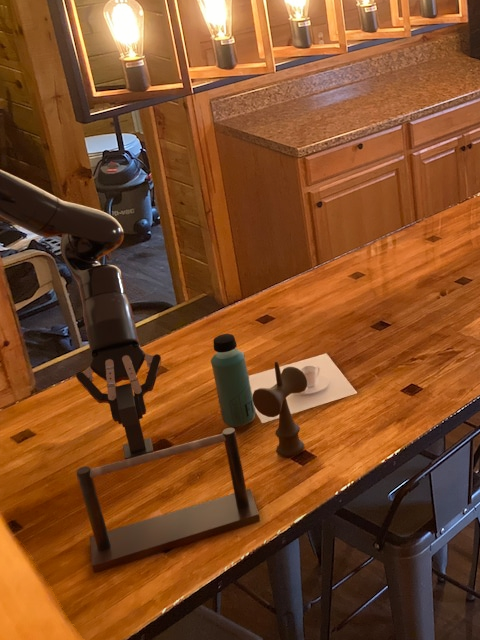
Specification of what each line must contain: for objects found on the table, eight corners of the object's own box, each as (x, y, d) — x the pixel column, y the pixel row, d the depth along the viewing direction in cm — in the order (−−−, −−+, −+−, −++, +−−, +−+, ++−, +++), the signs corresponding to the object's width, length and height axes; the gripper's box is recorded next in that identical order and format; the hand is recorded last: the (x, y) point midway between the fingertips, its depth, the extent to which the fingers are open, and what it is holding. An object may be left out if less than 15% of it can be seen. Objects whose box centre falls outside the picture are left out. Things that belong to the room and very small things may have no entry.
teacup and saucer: (294, 401, 199) (291, 384, 197) (282, 384, 205) (280, 368, 203) (334, 388, 203) (332, 372, 202) (322, 372, 209) (320, 356, 208)
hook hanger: (123, 449, 164) (107, 385, 159) (151, 442, 166) (136, 378, 161) (128, 477, 157) (111, 411, 152) (157, 469, 159) (141, 404, 154)
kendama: (262, 462, 180) (245, 371, 172) (292, 434, 188) (278, 346, 180) (288, 468, 178) (273, 377, 170) (318, 439, 186) (305, 351, 178)
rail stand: (93, 573, 153) (69, 488, 147) (91, 543, 160) (68, 460, 153) (260, 521, 165) (245, 439, 158) (251, 494, 171) (237, 415, 164)
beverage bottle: (251, 433, 188) (235, 346, 180) (218, 433, 188) (200, 346, 180) (262, 414, 194) (246, 329, 186) (229, 415, 194) (213, 329, 186)
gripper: (61, 327, 157) (81, 427, 152) (152, 308, 163) (174, 403, 158) (67, 341, 163) (87, 437, 158) (155, 322, 169) (176, 414, 164)
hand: (130, 419), depth 158 cm, fingers closed on hook hanger, 2 cm apart
